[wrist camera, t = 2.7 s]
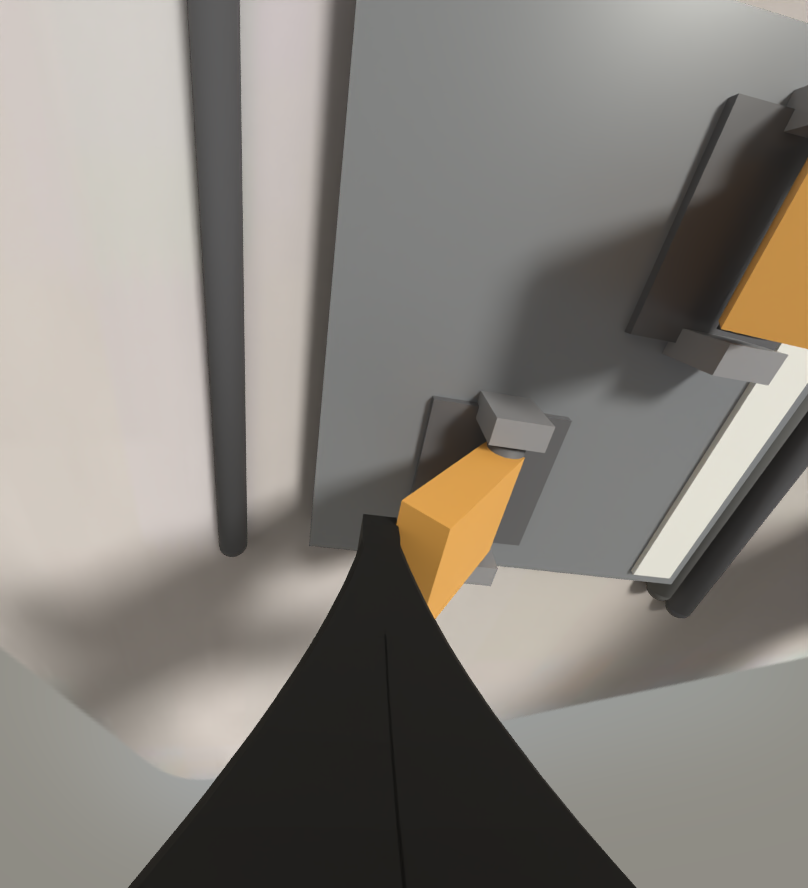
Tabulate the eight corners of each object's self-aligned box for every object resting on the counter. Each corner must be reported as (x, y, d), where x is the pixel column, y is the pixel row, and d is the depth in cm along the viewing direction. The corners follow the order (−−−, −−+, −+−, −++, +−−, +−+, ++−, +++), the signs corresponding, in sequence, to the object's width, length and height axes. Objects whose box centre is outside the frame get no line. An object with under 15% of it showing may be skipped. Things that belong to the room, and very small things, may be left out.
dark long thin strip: (971, 139, 10) (1027, 131, 9) (657, 588, 18) (671, 606, 17) (940, 130, 10) (993, 121, 9) (638, 586, 18) (651, 604, 17)
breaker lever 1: (533, 445, 11) (452, 521, 7) (493, 547, 13) (413, 649, 9) (496, 430, 12) (403, 492, 8) (463, 529, 14) (375, 619, 10)
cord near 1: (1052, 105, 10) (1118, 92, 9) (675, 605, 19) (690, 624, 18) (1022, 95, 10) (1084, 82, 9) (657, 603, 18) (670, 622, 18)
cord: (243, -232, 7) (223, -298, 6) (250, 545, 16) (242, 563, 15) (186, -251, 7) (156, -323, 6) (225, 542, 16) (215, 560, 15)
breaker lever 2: (885, 150, 8) (1031, 22, 4) (768, 339, 10) (800, 361, 6) (812, 148, 9) (886, 31, 5) (714, 327, 11) (714, 340, 7)
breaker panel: (955, 106, 10) (1186, 54, 7) (653, 563, 17) (706, 627, 14) (369, -69, 8) (358, -234, 5) (314, 524, 15) (298, 588, 13)
